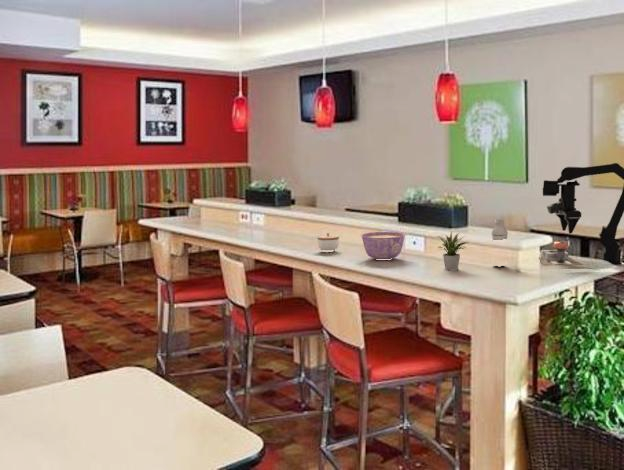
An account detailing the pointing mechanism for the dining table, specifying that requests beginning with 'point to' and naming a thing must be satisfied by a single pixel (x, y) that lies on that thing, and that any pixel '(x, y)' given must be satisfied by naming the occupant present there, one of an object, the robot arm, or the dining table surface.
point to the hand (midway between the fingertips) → (567, 232)
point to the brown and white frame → (551, 258)
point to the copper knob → (560, 250)
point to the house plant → (451, 252)
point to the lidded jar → (328, 242)
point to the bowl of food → (383, 244)
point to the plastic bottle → (499, 231)
